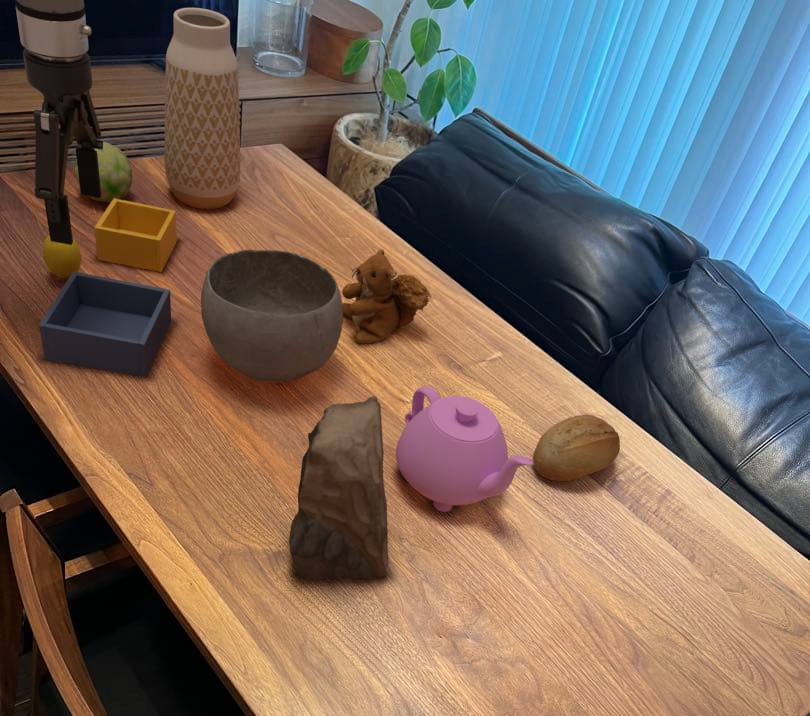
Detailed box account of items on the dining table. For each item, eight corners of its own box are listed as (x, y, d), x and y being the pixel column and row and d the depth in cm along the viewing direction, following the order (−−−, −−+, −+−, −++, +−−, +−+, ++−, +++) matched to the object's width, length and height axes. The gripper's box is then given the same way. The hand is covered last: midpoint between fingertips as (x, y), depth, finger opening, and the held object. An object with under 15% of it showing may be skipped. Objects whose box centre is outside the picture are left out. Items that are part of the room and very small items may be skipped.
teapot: (539, 514, 114) (572, 442, 104) (460, 558, 106) (487, 484, 95) (439, 422, 123) (460, 348, 113) (359, 456, 115) (374, 379, 105)
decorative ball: (144, 207, 149) (140, 153, 141) (92, 216, 143) (86, 160, 136) (119, 182, 153) (114, 128, 146) (67, 190, 148) (60, 135, 140)
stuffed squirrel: (331, 310, 138) (341, 238, 128) (408, 308, 142) (423, 239, 133) (347, 345, 132) (358, 273, 122) (426, 342, 137) (443, 272, 127)
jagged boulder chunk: (286, 583, 98) (299, 464, 83) (279, 507, 106) (290, 386, 91) (387, 580, 101) (417, 465, 86) (373, 507, 109) (398, 390, 94)
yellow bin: (97, 260, 135) (94, 227, 131) (116, 229, 142) (113, 197, 138) (161, 272, 136) (160, 240, 132) (176, 241, 143) (175, 210, 139)
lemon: (51, 266, 131) (43, 220, 125) (86, 271, 132) (81, 225, 126) (43, 285, 128) (35, 238, 122) (80, 289, 129) (73, 243, 123)
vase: (150, 190, 153) (140, 6, 131) (207, 174, 161) (206, -2, 139) (198, 222, 149) (196, 37, 126) (254, 203, 157) (261, 27, 134)
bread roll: (627, 471, 124) (648, 432, 118) (557, 500, 116) (576, 460, 110) (585, 432, 128) (603, 393, 122) (516, 458, 121) (532, 418, 115)
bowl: (362, 372, 128) (376, 289, 117) (268, 426, 116) (274, 339, 104) (270, 311, 134) (276, 227, 123) (173, 355, 122) (169, 266, 111)
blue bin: (44, 359, 116) (38, 325, 112) (77, 304, 126) (73, 271, 122) (146, 377, 118) (144, 344, 113) (171, 321, 128) (170, 289, 123)
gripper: (55, 95, 89) (78, 268, 104) (116, 24, 105) (127, 182, 121) (-16, 81, 88) (18, 258, 103) (56, 11, 104) (76, 172, 120)
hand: (77, 217), depth 112 cm, fingers open, 13 cm apart
